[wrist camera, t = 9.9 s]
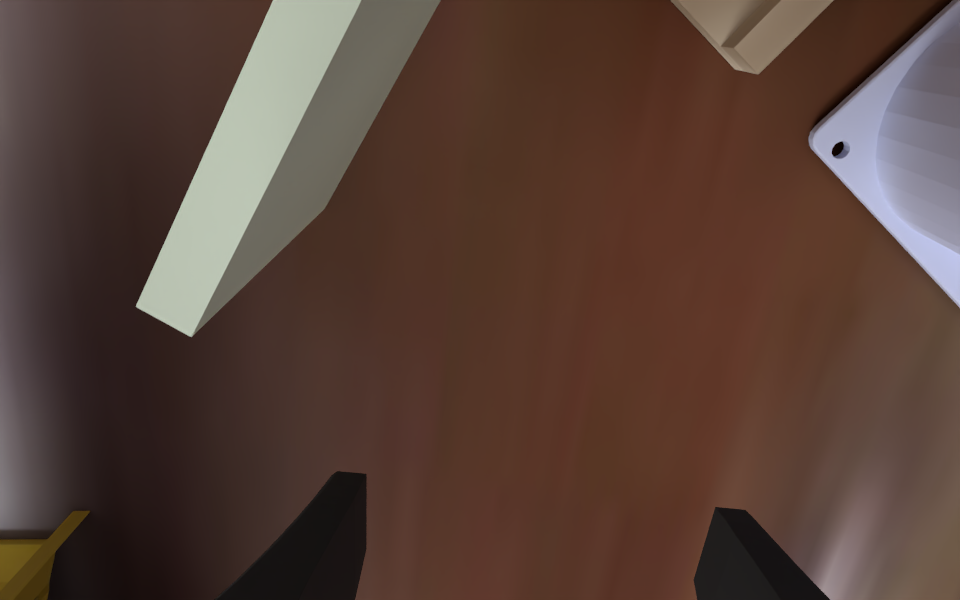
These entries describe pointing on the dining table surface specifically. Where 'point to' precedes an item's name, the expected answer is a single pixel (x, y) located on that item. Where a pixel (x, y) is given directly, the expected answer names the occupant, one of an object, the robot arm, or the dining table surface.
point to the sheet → (280, 146)
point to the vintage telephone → (32, 562)
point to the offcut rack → (750, 27)
